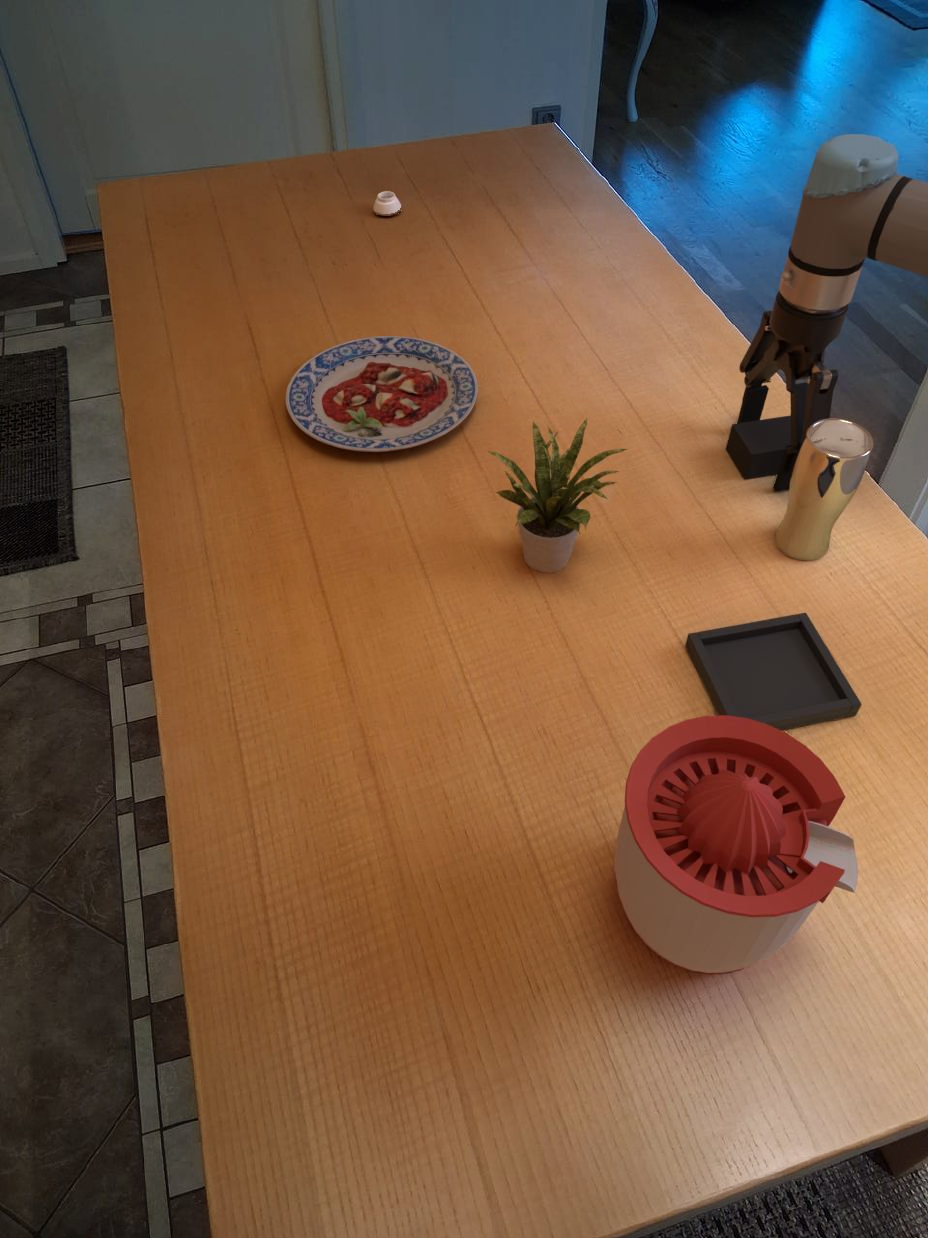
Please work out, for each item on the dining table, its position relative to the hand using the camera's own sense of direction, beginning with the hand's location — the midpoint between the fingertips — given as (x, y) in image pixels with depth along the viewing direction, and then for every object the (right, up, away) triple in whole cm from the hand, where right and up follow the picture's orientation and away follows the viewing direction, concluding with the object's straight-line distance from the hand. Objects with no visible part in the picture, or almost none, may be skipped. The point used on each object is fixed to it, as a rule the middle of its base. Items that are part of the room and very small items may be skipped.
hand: (764, 458), depth 112 cm
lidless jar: (-51, +52, +46) cm, 86 cm away
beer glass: (+1, -11, -9) cm, 15 cm away
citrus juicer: (-17, -44, -37) cm, 60 cm away
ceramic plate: (-49, +9, +10) cm, 50 cm away
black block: (0, 0, 0) cm, 0 cm away
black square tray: (-7, -26, -22) cm, 35 cm away
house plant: (-27, -13, -10) cm, 32 cm away
